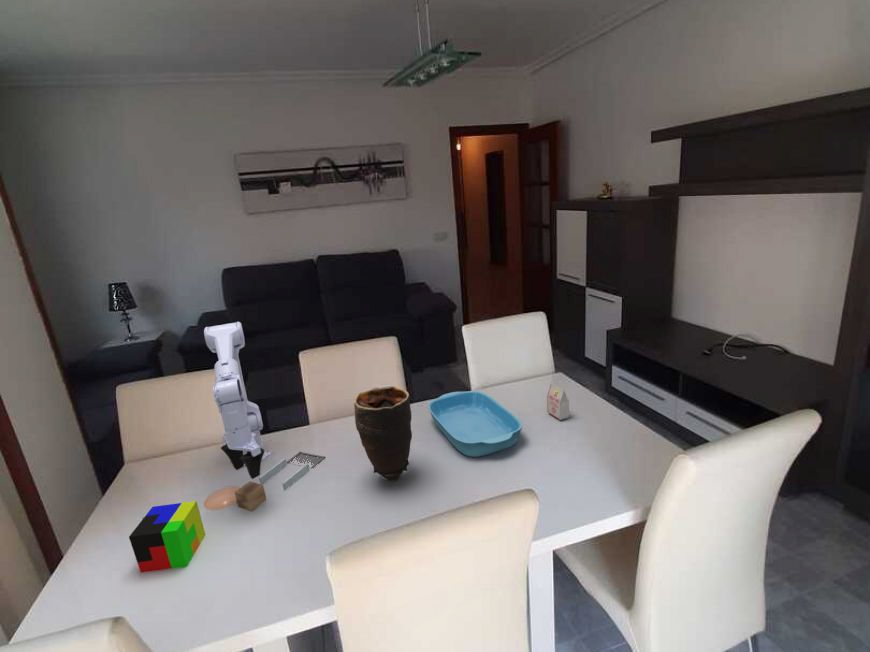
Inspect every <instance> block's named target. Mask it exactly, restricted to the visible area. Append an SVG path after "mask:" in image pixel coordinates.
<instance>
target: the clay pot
mask: <svg viewBox="0 0 870 652" xmlns="http://www.w3.org/2000/svg"><path fill="white" fill-rule="evenodd" d="M353 400H354V401H353V403H354V421H355V422H354V424H355V429H356V430H357V432H358V435H359V437H360V438H359V439H360V442H361V445H362V447H363V448H364V450H365V454H366V456H367V458H368V460H369V462H370V463H371V465H372V467H373V473H374V474H375V473H377V474H379V475H380V476H381V477H382V478H384V479H385V480H386V481H387V482H394V481H396V480H398V479H399V478H400V477H401V475H403V473H404V472H408V466H409V464H410V462H409V457H410V451H411V442H412V437H413V431H412V409H411V401H410V400H411V399H410V394H409V392H408V391H407V390H406V389H404V388H403V387H399V386H396V385H394V384H388V385H387V384H386V385H380V386H379V385H378V386H375V387H372V388H368V389H364V390H361V391H359V393H357V395H356V396H355V397H354V399H353Z"/></svg>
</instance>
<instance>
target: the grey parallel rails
mask: <svg viewBox="0 0 870 652" xmlns="http://www.w3.org/2000/svg"><path fill="white" fill-rule="evenodd" d="M287 464H288V463H287V459H286V458H283V459H281V460H280V461H278V462H277V463H276V464H275V465H273V466H272V467H271V468H270V469H268V470H267V471H266V472H264V473H263V474H261V475H259V476H258V479H259V480H258V481H259V484H261V485H262V484H263V485H264V484H265V483H267V482H268V481H269V480H271V479H272V478H273V477H274V476H275V475H277V474H278V473H279V472H281V471H282V470H283V469H285V468H286V467H287V466H286V465H287ZM285 466H286V467H285ZM281 469H282V470H281ZM280 470H281V471H280ZM307 471H308V472H309V471H310V467H309V465H308V463H306V464H305V465H304V466H301V467H300V468H298V470H296V472H294V473H293V474H292V475H290V476H289V477H288V478H287V479H285V481H283V482H282V488H283V491H285V490H286V489H287V488H288V487H289V486H290V487H292V486H293V485H294V484H295V483H296V482H298V481H299V480H300V479H301V478H302V477H304V476H305V475H306V474H307V473H308V472H307ZM306 472H307V473H306ZM276 473H277V474H276ZM305 473H306V474H305ZM304 474H305V475H304ZM272 476H273V477H272ZM271 477H272V478H271ZM300 477H301V478H300ZM299 478H300V479H299ZM298 479H299V480H298ZM267 480H268V481H267ZM294 482H295V483H294ZM293 483H294V484H293ZM292 484H293V485H292ZM290 487H289V488H290ZM289 488H288V489H289ZM288 489H287V490H288ZM287 490H286V491H287Z"/></svg>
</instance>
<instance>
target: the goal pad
mask: <svg viewBox="0 0 870 652" xmlns="http://www.w3.org/2000/svg"><path fill="white" fill-rule="evenodd" d="M240 488H241V487H239V486H226V487H223V488H220V489H217V490H216V491H213V492H212V493H211V494H209V495H208V496H207V497H206V498H205V500H204V501H203V507H204V508H205V509H206V510H209V511H217V510H223V509H226V508H228V507H230V506H232V505H234V504H235V503H236V504H237V500H236V496H235V491H237V490H238V489H240Z"/></svg>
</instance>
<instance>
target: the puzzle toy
mask: <svg viewBox="0 0 870 652" xmlns="http://www.w3.org/2000/svg"><path fill="white" fill-rule="evenodd" d="M197 502H198V501H197V500H193V501H186V502H179V503H177V502H176V503H171V504H163V505H155V506H152V507H151V508H150V509H149V511H148V512H147V513H146V514H145V516H144V517H143V518H142V519H141V520H140V522H139V523H138V524H137V526H136V527H135V529H133V531H132V533H130V535H129V536H128V539H129V542H130V545H131V547H132V551H133V553H134V557H135V560H136V562H137V566H138V569H139V573H148V572H156V571H163V570H164V571H165V570H171V569H178V568H184V567H188V566H189V564H190V563H191V561H192V559H193V557H194V555H195V554H196V552H197V550H198V549H199V547H200V545H201V543H202V542H203V540H204V538H205V537H206V532H205V528H204V525H203V520H202V516H201V513H200V510H199V506H198V503H197Z"/></svg>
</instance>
